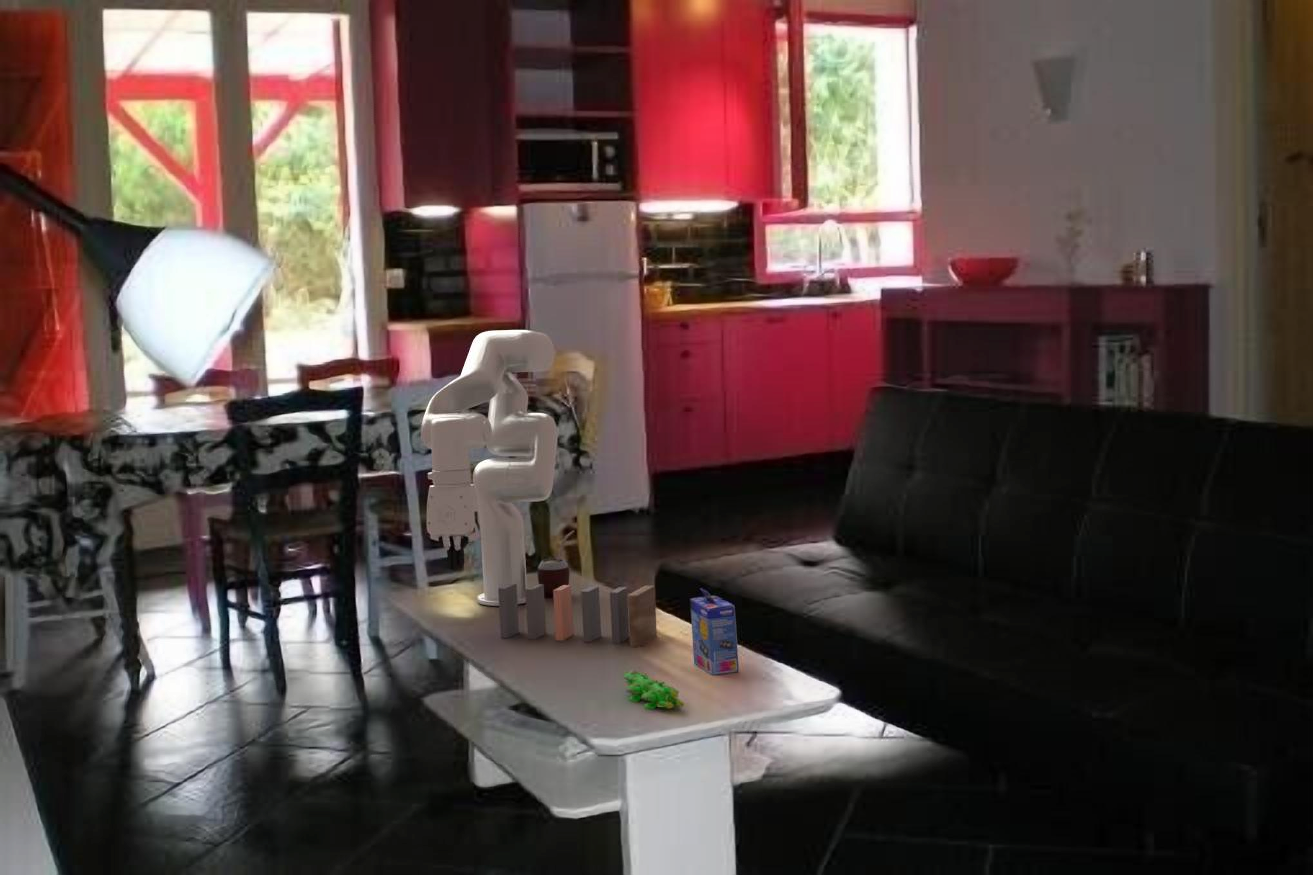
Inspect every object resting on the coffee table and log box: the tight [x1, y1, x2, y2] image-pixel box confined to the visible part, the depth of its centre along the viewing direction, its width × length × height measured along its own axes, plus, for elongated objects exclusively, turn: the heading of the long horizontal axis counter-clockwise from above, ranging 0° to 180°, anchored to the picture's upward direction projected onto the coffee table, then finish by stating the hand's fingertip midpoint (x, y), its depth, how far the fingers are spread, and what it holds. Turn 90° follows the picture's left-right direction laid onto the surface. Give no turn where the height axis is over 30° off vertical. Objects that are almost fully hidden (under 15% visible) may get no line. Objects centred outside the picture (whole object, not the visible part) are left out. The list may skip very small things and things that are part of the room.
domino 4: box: [580, 585, 602, 643], centre depth 309 cm, size 2×5×10 cm, turn 159°
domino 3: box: [553, 584, 574, 642], centre depth 312 cm, size 2×5×10 cm, turn 160°
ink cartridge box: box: [689, 588, 740, 676], centre depth 283 cm, size 10×6×14 cm, turn 19°
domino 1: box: [498, 583, 520, 639], centre depth 316 cm, size 2×5×10 cm, turn 159°
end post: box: [628, 585, 658, 648], centre depth 305 cm, size 2×9×10 cm, turn 159°
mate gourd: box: [536, 529, 575, 598], centre depth 351 cm, size 8×8×15 cm
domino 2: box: [525, 583, 547, 640], centre depth 314 cm, size 2×5×10 cm, turn 159°
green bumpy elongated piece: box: [622, 669, 684, 710], centre depth 263 cm, size 7×18×4 cm, turn 28°
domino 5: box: [609, 586, 630, 644], centre depth 307 cm, size 2×5×10 cm, turn 159°
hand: (456, 568), depth 318 cm, fingers closed
